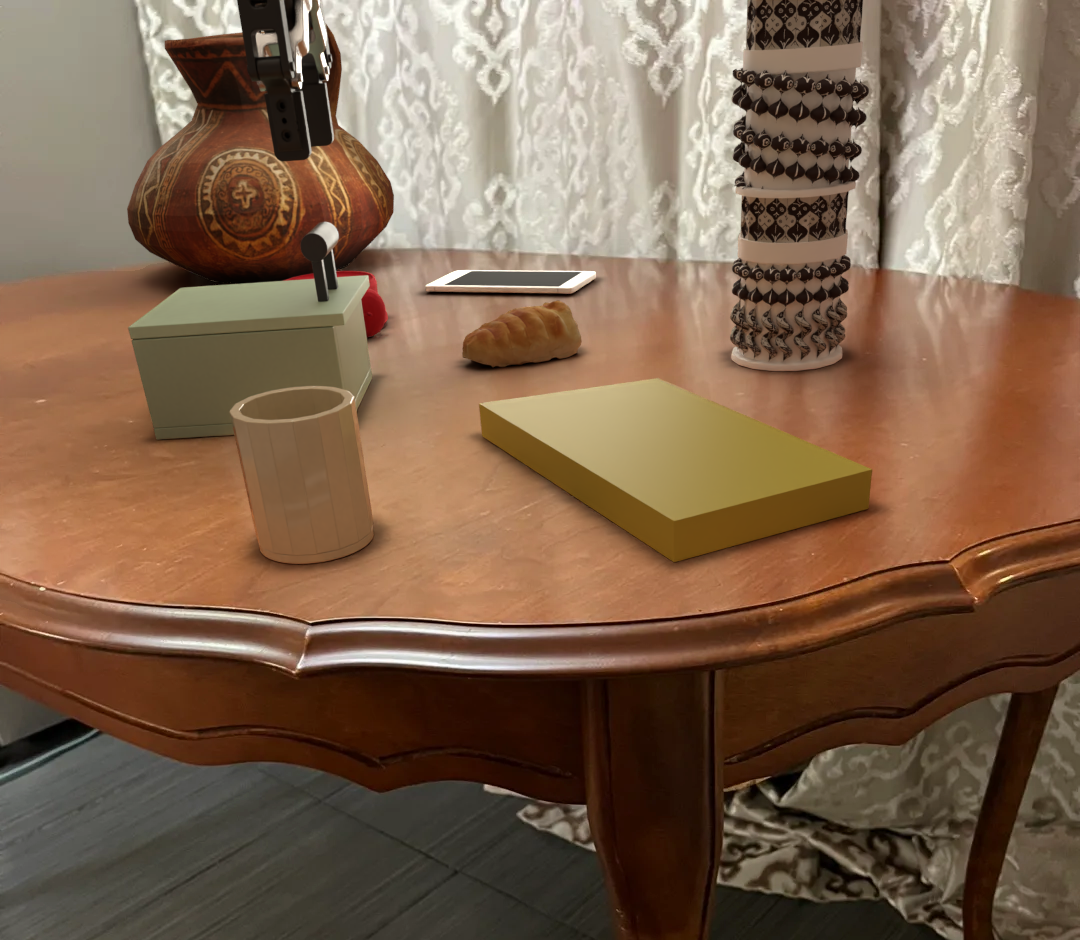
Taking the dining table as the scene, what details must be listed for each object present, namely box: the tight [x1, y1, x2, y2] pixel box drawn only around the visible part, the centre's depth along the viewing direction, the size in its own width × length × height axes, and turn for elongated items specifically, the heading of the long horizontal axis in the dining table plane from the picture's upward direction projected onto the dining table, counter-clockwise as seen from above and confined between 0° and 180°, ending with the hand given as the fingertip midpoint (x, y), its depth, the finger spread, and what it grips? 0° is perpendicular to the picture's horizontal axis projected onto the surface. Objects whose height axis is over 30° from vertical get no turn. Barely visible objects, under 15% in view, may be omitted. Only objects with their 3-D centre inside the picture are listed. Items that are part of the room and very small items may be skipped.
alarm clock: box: [283, 270, 389, 339], centre depth 101 cm, size 10×6×15 cm
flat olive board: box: [478, 377, 873, 563], centre depth 66 cm, size 12×2×24 cm
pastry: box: [461, 299, 583, 368], centre depth 90 cm, size 9×7×4 cm
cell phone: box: [425, 269, 597, 295], centre depth 114 cm, size 8×16×1 cm, turn 69°
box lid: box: [127, 222, 370, 340], centre depth 78 cm, size 14×13×5 cm
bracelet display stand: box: [729, 0, 870, 372], centre depth 79 cm, size 9×9×25 cm
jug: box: [126, 22, 395, 284], centre depth 125 cm, size 30×30×25 cm
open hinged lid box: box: [131, 300, 373, 441], centre depth 81 cm, size 14×13×7 cm
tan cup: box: [230, 386, 375, 565], centre depth 59 cm, size 6×6×8 cm
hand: (306, 152), depth 73 cm, fingers open, 8 cm apart
